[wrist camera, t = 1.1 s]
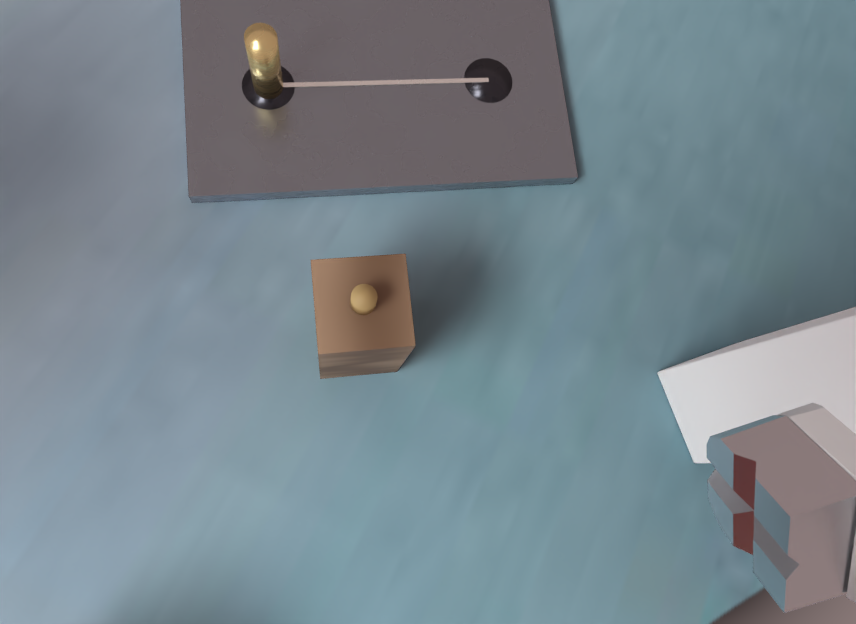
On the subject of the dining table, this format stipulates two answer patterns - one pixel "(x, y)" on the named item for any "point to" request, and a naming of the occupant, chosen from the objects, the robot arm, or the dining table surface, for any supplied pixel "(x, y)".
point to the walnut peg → (362, 314)
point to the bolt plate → (371, 97)
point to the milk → (766, 379)
